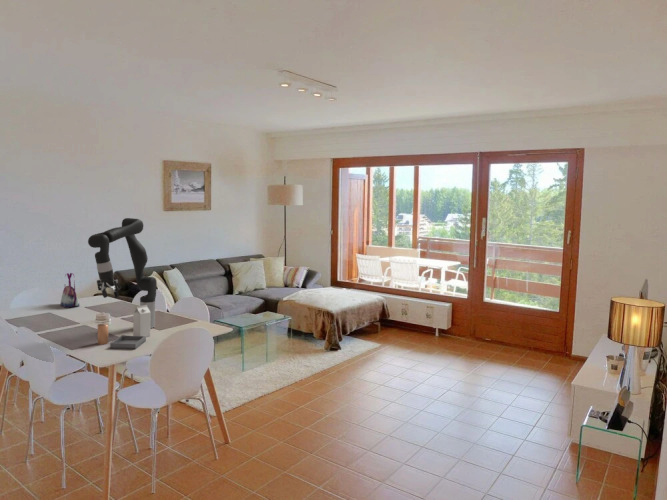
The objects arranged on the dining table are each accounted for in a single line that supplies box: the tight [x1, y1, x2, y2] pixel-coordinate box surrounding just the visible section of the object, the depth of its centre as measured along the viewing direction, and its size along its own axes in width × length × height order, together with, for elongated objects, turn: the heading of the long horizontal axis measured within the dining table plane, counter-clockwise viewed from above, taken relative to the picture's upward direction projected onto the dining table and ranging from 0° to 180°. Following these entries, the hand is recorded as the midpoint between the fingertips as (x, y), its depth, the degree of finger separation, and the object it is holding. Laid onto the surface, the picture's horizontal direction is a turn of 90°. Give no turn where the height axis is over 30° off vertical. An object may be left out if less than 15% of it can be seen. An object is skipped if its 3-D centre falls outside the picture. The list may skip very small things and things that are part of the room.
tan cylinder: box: [97, 322, 109, 346], centre depth 281 cm, size 6×6×11 cm
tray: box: [109, 334, 147, 350], centre depth 281 cm, size 16×14×3 cm
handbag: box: [60, 272, 80, 309], centre depth 367 cm, size 21×10×25 cm, turn 49°
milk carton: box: [132, 305, 151, 338], centre depth 298 cm, size 7×7×19 cm
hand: (111, 297), depth 274 cm, fingers open, 8 cm apart
